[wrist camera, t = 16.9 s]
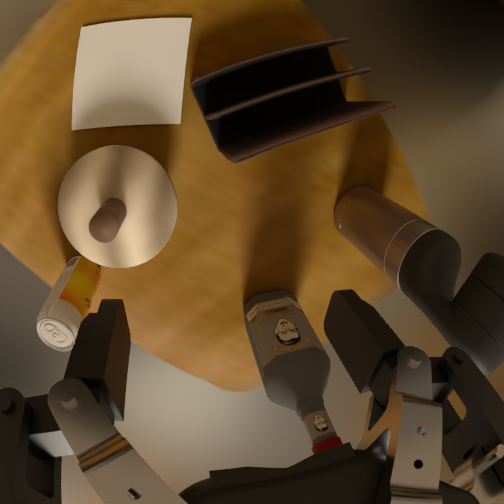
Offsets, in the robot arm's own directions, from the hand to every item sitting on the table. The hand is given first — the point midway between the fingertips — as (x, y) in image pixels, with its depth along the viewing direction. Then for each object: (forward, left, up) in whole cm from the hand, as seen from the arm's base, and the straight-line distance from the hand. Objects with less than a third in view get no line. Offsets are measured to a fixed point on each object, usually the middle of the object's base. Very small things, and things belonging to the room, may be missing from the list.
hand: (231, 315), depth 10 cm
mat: (+10, -13, -30) cm, 34 cm away
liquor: (-13, +25, -30) cm, 41 cm away
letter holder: (-9, -11, -30) cm, 34 cm away
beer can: (+18, +16, -30) cm, 39 cm away
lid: (+10, +4, -24) cm, 26 cm away
